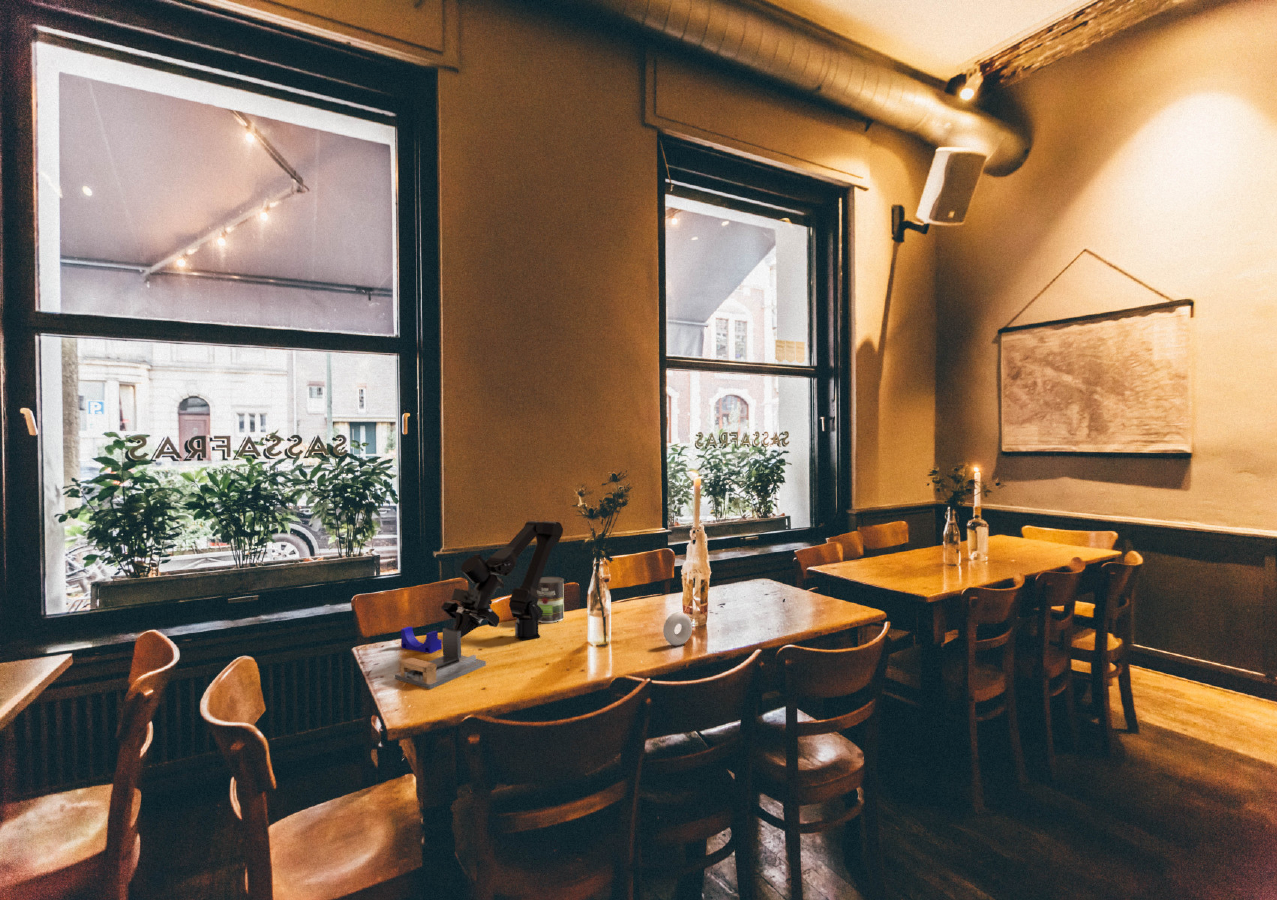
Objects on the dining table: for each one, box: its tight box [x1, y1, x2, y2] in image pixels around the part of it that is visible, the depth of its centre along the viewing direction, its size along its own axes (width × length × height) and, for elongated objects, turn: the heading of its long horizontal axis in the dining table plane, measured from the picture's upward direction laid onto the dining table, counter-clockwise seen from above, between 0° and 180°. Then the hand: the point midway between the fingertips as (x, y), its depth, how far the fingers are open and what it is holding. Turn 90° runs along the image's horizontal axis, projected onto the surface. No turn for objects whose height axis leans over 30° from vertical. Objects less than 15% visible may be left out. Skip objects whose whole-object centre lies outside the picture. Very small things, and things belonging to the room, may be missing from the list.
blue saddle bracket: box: [400, 626, 443, 654], centre depth 182 cm, size 12×4×6 cm, turn 64°
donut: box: [662, 611, 693, 647], centre depth 181 cm, size 10×4×10 cm, turn 120°
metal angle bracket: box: [419, 627, 462, 673], centre depth 162 cm, size 10×6×9 cm, turn 149°
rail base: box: [394, 654, 487, 690], centre depth 163 cm, size 19×14×5 cm
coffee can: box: [537, 576, 565, 624], centre depth 211 cm, size 10×10×14 cm
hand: (454, 640), depth 166 cm, fingers closed, pressing on metal angle bracket
